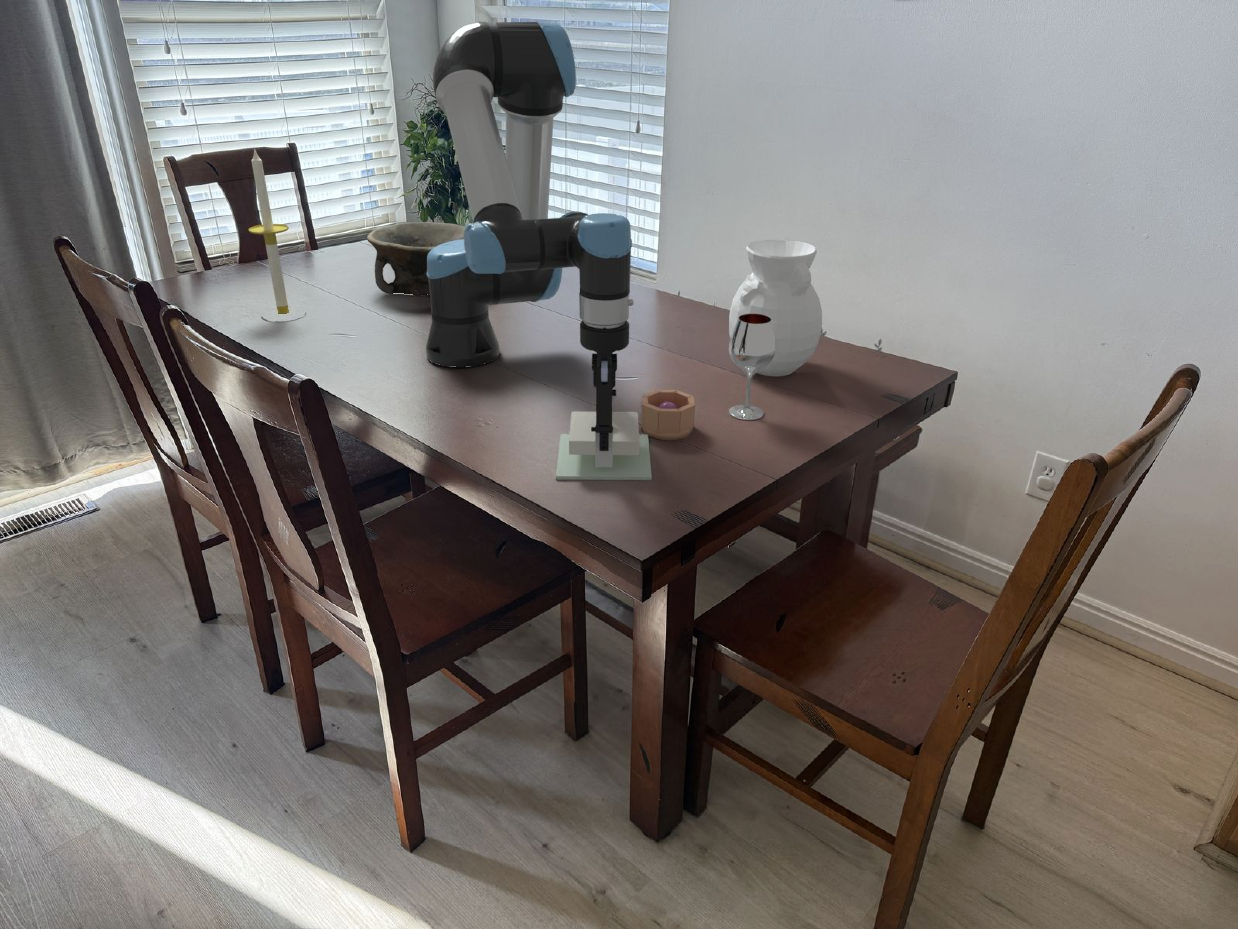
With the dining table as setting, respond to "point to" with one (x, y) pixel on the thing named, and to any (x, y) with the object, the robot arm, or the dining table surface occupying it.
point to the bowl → (409, 253)
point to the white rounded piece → (782, 301)
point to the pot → (667, 414)
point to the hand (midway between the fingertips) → (604, 449)
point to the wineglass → (751, 355)
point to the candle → (269, 235)
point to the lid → (622, 433)
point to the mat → (586, 470)
